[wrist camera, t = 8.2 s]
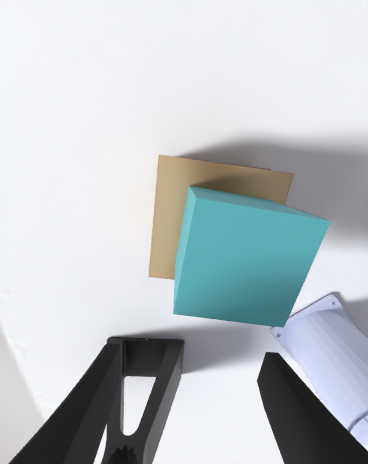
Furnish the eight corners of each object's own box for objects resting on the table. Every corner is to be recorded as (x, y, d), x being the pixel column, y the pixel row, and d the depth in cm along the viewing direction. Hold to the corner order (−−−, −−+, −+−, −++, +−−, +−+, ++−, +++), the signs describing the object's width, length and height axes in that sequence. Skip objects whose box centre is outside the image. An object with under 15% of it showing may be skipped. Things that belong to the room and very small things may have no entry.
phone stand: (184, 339, 22) (189, 514, 11) (180, 374, 24) (181, 554, 13) (108, 336, 22) (32, 514, 11) (110, 372, 24) (48, 556, 13)
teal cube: (268, 199, 12) (330, 221, 7) (246, 270, 13) (283, 327, 8) (189, 185, 11) (196, 197, 6) (175, 259, 13) (173, 313, 8)
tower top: (270, 172, 14) (293, 173, 11) (245, 267, 16) (258, 287, 14) (163, 157, 13) (158, 154, 11) (154, 257, 16) (148, 276, 13)
